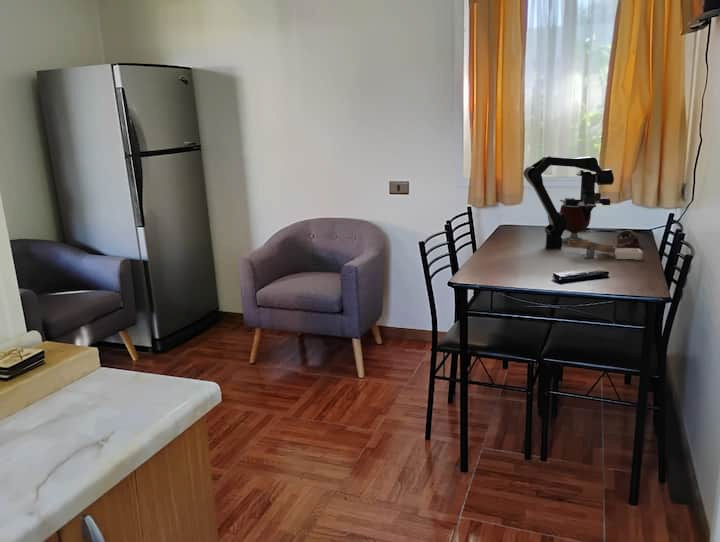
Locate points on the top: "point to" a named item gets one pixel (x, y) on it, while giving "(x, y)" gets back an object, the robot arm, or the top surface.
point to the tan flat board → (591, 245)
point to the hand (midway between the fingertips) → (585, 220)
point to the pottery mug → (627, 238)
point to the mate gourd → (574, 221)
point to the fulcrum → (590, 254)
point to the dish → (628, 254)
